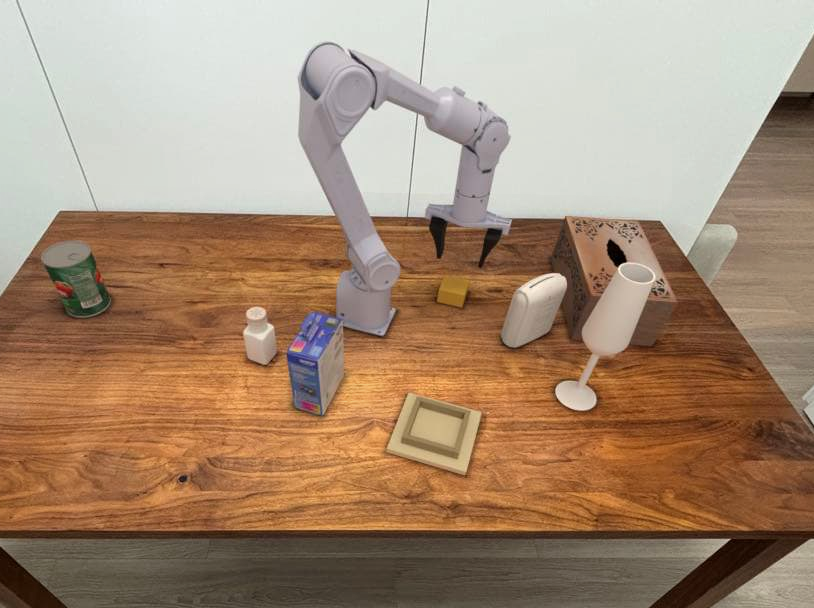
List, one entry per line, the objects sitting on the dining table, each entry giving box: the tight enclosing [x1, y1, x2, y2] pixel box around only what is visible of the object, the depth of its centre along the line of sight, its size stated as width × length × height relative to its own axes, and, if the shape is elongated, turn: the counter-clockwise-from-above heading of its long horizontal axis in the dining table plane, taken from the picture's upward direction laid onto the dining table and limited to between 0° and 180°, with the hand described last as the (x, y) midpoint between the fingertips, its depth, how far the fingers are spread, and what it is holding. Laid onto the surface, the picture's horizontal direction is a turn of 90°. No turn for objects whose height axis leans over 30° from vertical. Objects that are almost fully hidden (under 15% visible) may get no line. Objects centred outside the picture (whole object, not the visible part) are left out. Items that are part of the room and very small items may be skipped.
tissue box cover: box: [550, 215, 679, 347], centre depth 102 cm, size 26×14×10 cm, turn 175°
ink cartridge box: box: [285, 311, 345, 417], centre depth 82 cm, size 10×6×14 cm, turn 161°
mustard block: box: [436, 274, 471, 309], centre depth 103 cm, size 5×5×3 cm
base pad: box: [385, 391, 483, 476], centre depth 81 cm, size 12×12×2 cm
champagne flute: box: [554, 263, 656, 412], centre depth 79 cm, size 7×7×24 cm
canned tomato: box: [40, 240, 112, 319], centre depth 95 cm, size 8×8×11 cm
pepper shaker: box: [242, 306, 278, 366], centre depth 88 cm, size 4×4×10 cm
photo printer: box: [500, 272, 567, 349], centre depth 93 cm, size 10×4×12 cm, turn 123°
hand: (460, 260), depth 98 cm, fingers open, 7 cm apart
